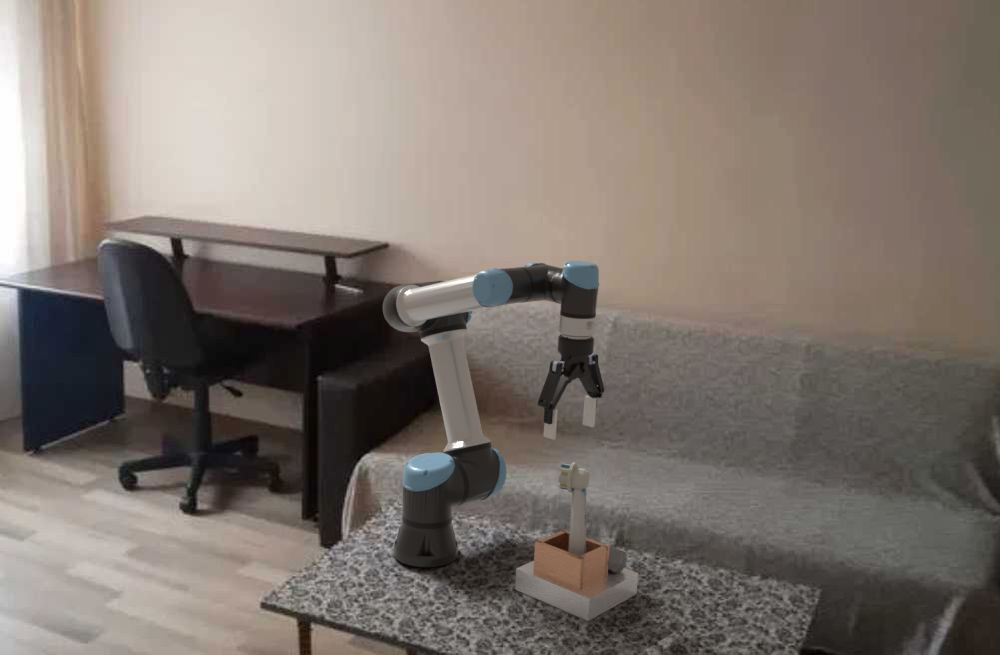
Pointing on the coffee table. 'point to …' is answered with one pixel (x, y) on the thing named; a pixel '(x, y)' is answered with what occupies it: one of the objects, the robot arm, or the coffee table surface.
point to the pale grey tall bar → (576, 505)
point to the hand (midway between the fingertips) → (569, 431)
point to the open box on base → (577, 576)
